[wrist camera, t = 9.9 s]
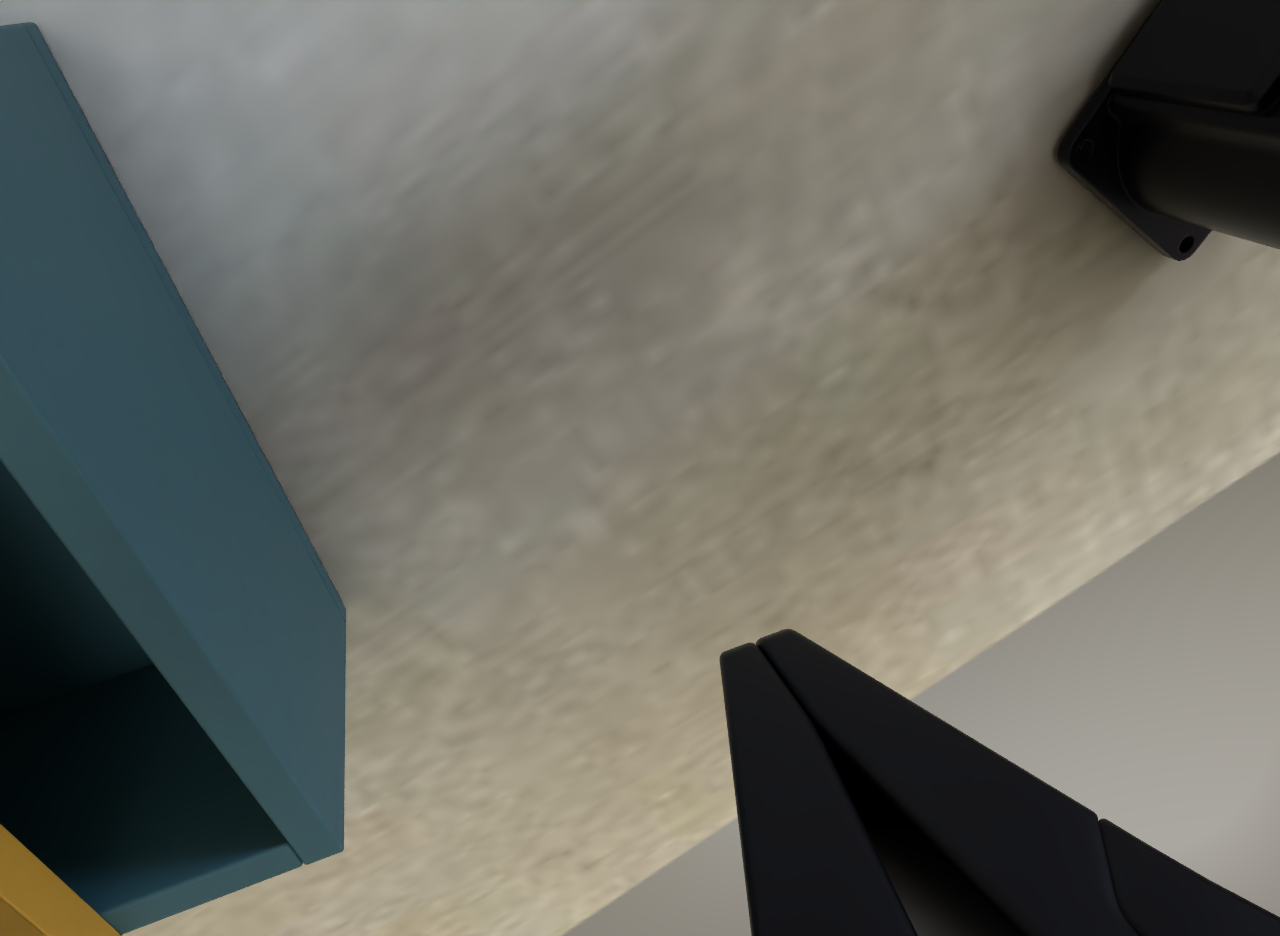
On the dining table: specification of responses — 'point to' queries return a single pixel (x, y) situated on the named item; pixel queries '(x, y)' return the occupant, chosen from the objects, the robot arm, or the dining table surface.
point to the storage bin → (142, 559)
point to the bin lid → (40, 898)
